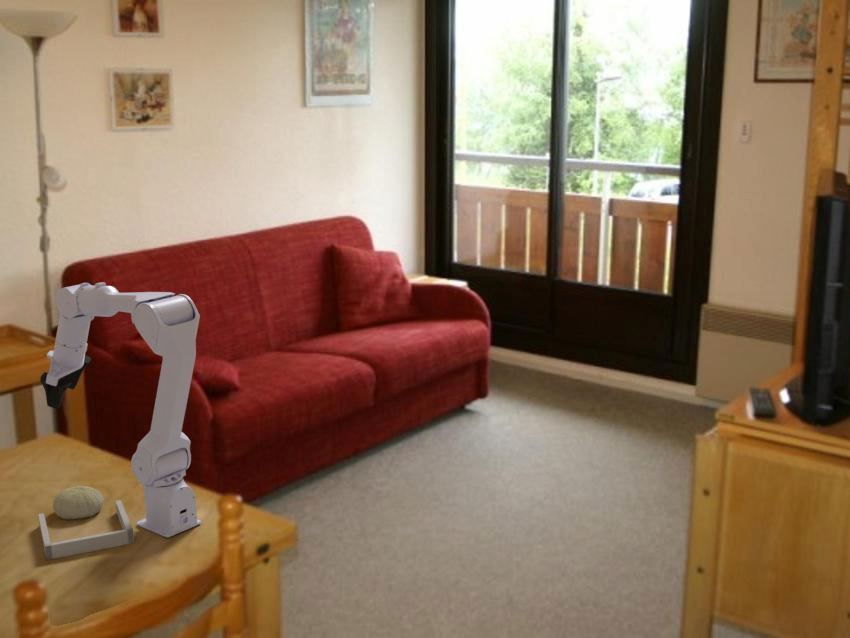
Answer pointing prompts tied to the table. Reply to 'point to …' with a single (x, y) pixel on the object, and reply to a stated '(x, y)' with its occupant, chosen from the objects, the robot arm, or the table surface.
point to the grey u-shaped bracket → (88, 538)
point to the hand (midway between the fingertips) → (61, 396)
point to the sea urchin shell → (77, 502)
